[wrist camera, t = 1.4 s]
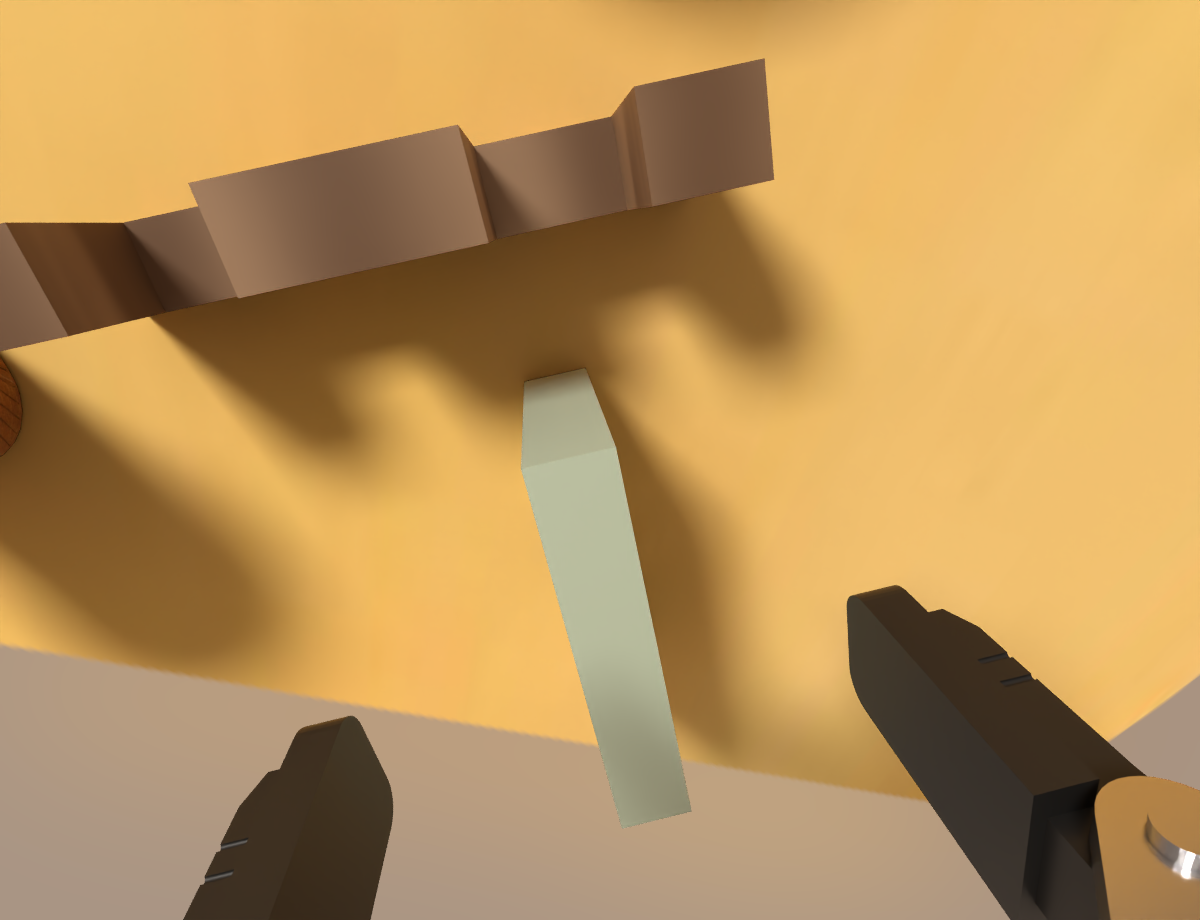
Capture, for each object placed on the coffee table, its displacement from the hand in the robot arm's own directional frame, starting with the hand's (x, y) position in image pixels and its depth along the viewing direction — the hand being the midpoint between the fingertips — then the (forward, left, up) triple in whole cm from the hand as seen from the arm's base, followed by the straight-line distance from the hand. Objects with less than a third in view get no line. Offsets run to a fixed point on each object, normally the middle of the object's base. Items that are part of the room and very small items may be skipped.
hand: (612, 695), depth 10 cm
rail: (+7, -5, -16) cm, 18 cm away
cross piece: (-3, +5, -16) cm, 17 cm away
